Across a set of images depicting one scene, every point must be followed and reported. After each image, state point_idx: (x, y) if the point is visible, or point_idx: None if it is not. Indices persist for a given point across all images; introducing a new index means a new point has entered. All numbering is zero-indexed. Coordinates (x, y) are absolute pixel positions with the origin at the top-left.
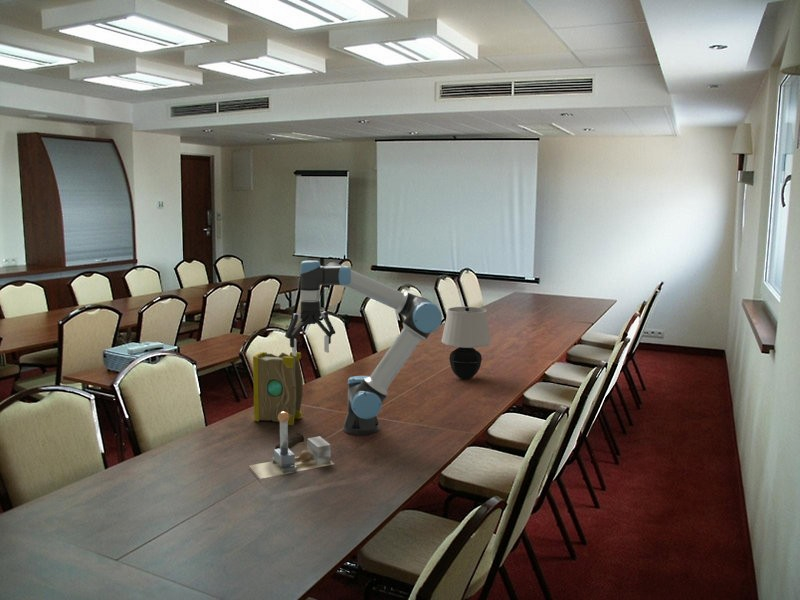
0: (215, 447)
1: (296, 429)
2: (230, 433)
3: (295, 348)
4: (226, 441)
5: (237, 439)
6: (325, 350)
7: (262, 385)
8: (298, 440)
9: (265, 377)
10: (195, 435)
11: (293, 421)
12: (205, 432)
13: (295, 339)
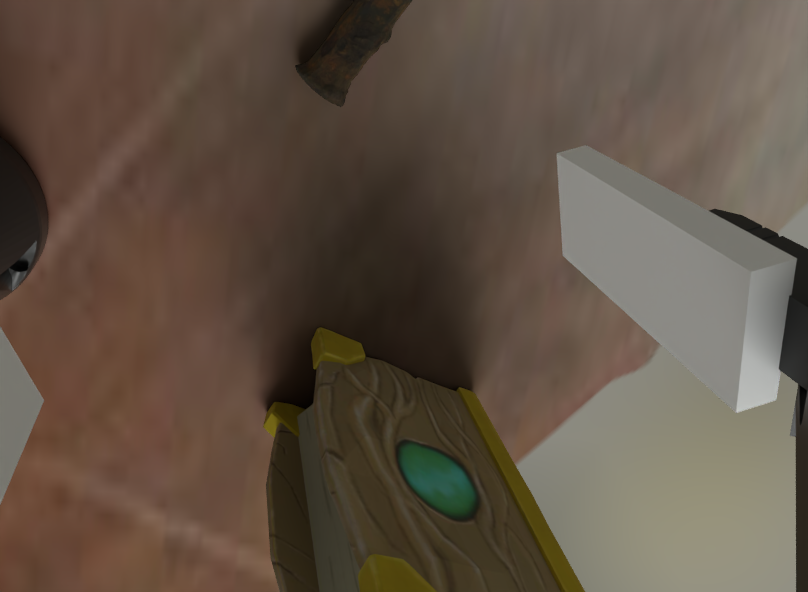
0: (686, 117)
1: (308, 270)
2: None
3: (645, 188)
4: None
5: None
6: (13, 376)
7: (501, 500)
8: (331, 34)
9: (504, 533)
10: None
11: (316, 340)
12: None
13: (760, 293)
